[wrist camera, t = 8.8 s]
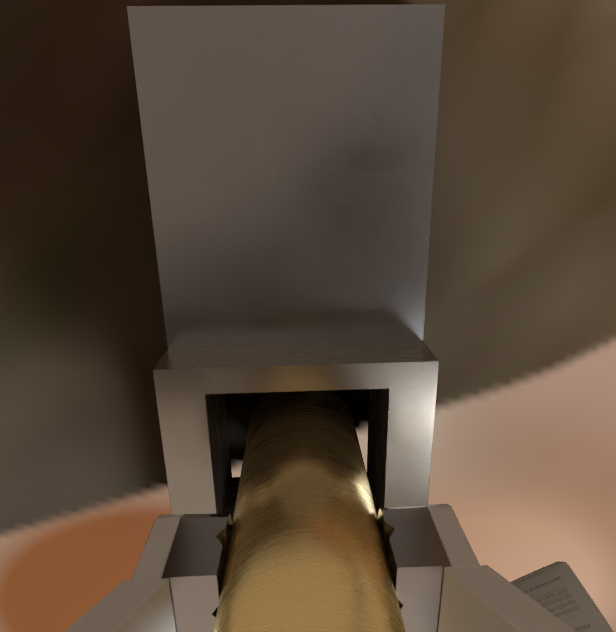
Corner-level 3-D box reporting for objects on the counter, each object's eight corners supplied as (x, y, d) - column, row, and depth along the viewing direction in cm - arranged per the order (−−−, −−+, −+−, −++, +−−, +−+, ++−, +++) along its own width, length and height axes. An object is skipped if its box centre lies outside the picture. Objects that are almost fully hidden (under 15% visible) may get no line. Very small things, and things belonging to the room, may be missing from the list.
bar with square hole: (426, 24, 11) (469, -23, 9) (391, 654, 18) (409, 738, 15) (146, 26, 11) (100, -21, 8) (216, 663, 18) (203, 749, 15)
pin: (354, 380, 13) (470, 766, 5) (352, 472, 14) (446, 929, 6) (246, 383, 13) (159, 780, 5) (251, 475, 14) (189, 944, 6)
